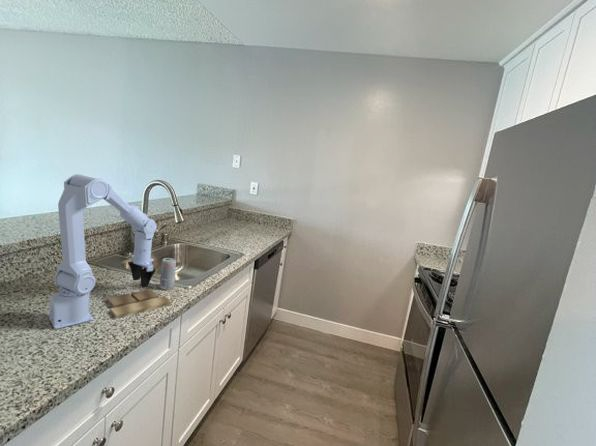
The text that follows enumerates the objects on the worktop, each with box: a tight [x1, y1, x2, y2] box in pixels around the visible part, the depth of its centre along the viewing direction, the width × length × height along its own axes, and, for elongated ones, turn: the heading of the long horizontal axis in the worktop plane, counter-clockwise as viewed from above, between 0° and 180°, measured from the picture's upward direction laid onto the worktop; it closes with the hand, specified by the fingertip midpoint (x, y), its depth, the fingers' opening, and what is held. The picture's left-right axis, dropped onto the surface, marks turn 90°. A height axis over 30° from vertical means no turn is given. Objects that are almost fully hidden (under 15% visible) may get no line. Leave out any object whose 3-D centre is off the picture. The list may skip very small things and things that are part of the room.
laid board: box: [109, 296, 172, 319], centre depth 104 cm, size 18×6×1 cm, turn 140°
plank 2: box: [130, 288, 159, 303], centre depth 111 cm, size 7×7×1 cm
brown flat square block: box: [106, 293, 137, 308], centre depth 105 cm, size 7×7×1 cm
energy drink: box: [159, 257, 177, 291], centre depth 121 cm, size 5×5×12 cm
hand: (140, 283), depth 113 cm, fingers open, 7 cm apart
